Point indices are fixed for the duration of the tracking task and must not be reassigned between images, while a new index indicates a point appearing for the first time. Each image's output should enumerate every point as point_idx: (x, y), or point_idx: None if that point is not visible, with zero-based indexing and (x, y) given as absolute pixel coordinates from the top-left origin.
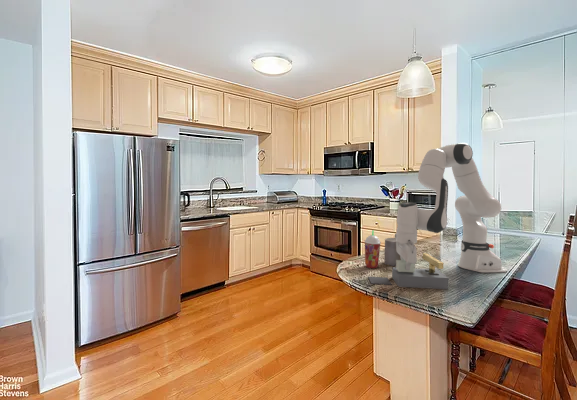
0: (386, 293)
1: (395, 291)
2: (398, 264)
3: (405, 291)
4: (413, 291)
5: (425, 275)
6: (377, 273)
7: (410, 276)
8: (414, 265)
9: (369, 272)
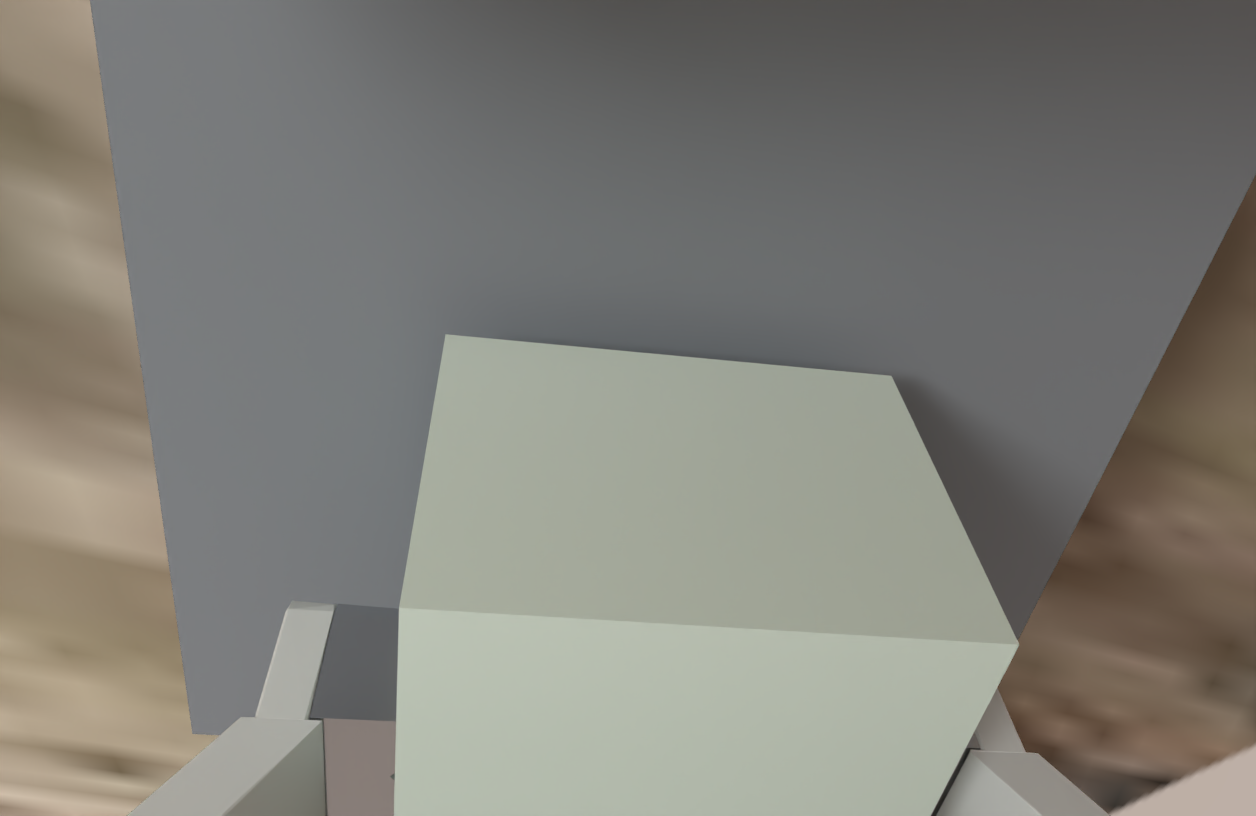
0: (1132, 786)
1: (1095, 663)
2: None
3: (1150, 518)
4: (1204, 374)
5: (1150, 4)
6: (28, 702)
7: (1062, 538)
8: (978, 598)
9: (11, 805)
